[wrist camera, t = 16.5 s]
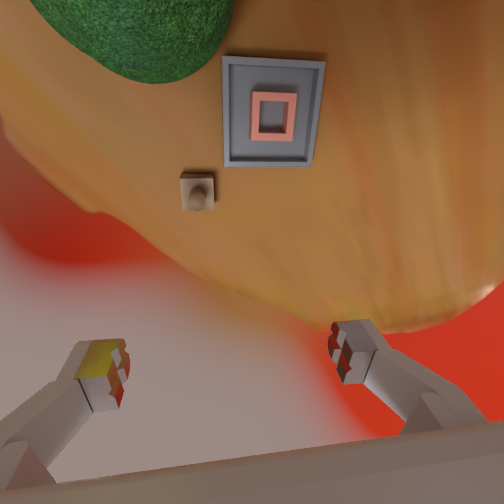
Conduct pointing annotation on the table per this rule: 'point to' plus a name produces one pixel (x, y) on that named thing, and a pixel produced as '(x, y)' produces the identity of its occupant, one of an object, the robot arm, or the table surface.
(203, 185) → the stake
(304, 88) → the tray
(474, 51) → the table surface
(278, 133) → the ring
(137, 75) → the decorative tree
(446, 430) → the robot arm
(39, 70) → the table surface
